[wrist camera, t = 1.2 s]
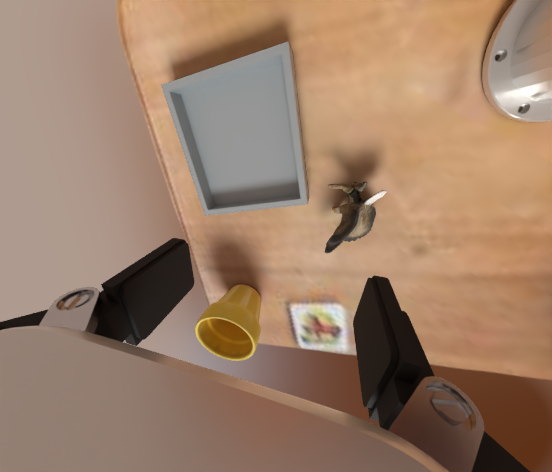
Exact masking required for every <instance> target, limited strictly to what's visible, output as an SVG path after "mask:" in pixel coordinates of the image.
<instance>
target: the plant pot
mask: <svg viewBox="0 0 552 472" xmlns="http://www.w3.org/2000/svg"><path fill="white" fill-rule="evenodd" d="M260 307H261V298H260V295H259V294H258V292H257V291H256V290H255V289H253V288H252V287H250V286H247V285H242V284H240V285H236V286H234V287H232V288H231V289H230V290H229V291H228V292H227V293H226V294H225V295H224V296H223V297H222V298H221V299H220V300H219V301H218V302H216V303H213V304H212V305H210V306H209V307H208V308H207V309H206V310H205V312H204V313H203V314H202V316H201V317H200V319H199V320H198V322H197V324H196V327H195V332H196V336H197V338H198V340H199V341H200V342H201V344H202V345H203V346H204V347H205V348H206V349H208V350H209V351H210V352H212V353H213V354H215V355H217V356H219V357H222V358H225V359H229V360H244V359H247V358H249V357H251V356H252V355H253V353H254V352H255V349H256V346H257V343H258V340H259V336H260V332H261V329H260V324H259V316H260Z"/></svg>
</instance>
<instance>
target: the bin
mask: <svg viewBox="0 0 552 472" xmlns="http://www.w3.org/2000/svg"><path fill="white" fill-rule="evenodd" d="M161 86H162V89H163V92H164V95H165V98H166V101H167V104H168V107H169V110H170V113H171V116H172V119H173V122H174V125H175V128H176V131H177V134H178V137H179V140H180V143H181V146H182V149H183V152H184V155H185V158H186V161H187V163H188V166H189V169H190V172H191V175H192V178H193V181H194V184H195V187H196V190H197V193H198V196H199V199H200V202H201V205H202V208H203V211H204V214H205V216H206V215H215V214H224V213H233V212H242V211H251V210H260V209H269V208H278V207H287V206H296V205H305V204H308V201H309V192H308V183H307V174H306V166H305V157H304V148H303V139H302V130H301V122H300V113H299V104H298V95H297V86H296V78H295V69H294V60H293V52H292V50H291V47H290V45H289V42H285V43H282V44H279V45H276V46H273V47H270V48H267V49H264V50H261V51H259V52H256V53H253V54H250V55H247V56H244V57H241V58H238V59H235V60H232V61H230V62H227V63H224V64H221V65H218V66H215V67H212V68H209V69H206V70H203V71H200V72H198V73H195V74H192V75H189V76H186V77H183V78H180V79H177V80H174V81H171V82H169V83H166V84H163V85H161Z"/></svg>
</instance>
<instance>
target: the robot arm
mask: <svg viewBox="0 0 552 472" xmlns="http://www.w3.org/2000/svg"><path fill="white" fill-rule="evenodd" d="M495 56H496V57H497V59H496V60H495ZM482 82H483V88H484V93H485V95H486V97H487V99H488V101H489V103H490V104H491V106H492V107H493V108H494V109H495V110H496V111H497V112H498V113H500V114H502V115H503V116H505V117H506V118H510V119H513V120H516V121H522V122H546V121H552V0H514V1H513V2H512V4H511V5H510V6H509V8H508V9H507V10H506V12H505V13H504V14H503V16H502V18H501V20H500V21H499V23H498V25H497V27H496V29H495V30H494V32H493V34H492V37H491V39H490V42H489V44H488V47H487V49H486V53H485V58H484V62H483V70H482ZM518 109H519V110H518ZM101 285H102V287H103V289H104V290H103V291H102V292H99V290H98V289H97V288H94V287H86V288H79V289H76V290H73V291H71V292H68V293H66V294H64V295H62V296H61V297H59V298H58V299H57V300H55V301H54V303H53V304H52V305H51V307H50V308H49V309H48V310H45V311H41V312H37V313H33V314H30V315H26V316H22V317H18V318H14V319H11V320H7V321H3V322H0V472H530V471H528V469H526V468H525V467H524V466H523V465H522V464H521V463H520V462H518V461H517V460H516V459H515V458H514V457H513V456H512V455H510V454H509V453H508V452H507V451H506V450H505V449H504V448H503V447H502V446H500V445H499V444H498V443H497V442H496V441H495V440H494V439H492V438H491V437H490V436H489V435H488V434H487V433H486V432H485V431H484V423H483V420H482V417H481V414H480V413H479V411H478V410H477V408H476V406H475V405H474V403H473V402H472V401H471V400H470V399H469V398H468V396H467V395H466V394H465V393H463V392H462V391H461V390H460V389H459V388H458V387H456V386H455V385H453V384H452V383H450V382H449V381H446V380H444V379H442V378H439V377H435V376H434V374H433V372H432V369H431V367H430V365H429V362H428V360H427V358H426V356H425V353H424V351H423V349H422V346H421V344H420V342H419V340H418V337H417V335H416V333H415V330H414V328H413V326H412V324H411V321H410V319H409V317H408V315H407V313H406V312H404V311H401V308H400V306H399V303H398V301H397V299H396V296H395V294H394V291H393V289H392V286H391V284H390V282H389V279H388V278H385V277H379V276H373V277H372V278H368V280H367V282H366V285H365V288H364V291H363V294H362V297H361V300H360V302H359V305H358V308H357V311H356V314H355V317H354V321H353V327H354V335H355V343H356V351H357V359H358V367H359V375H360V383H361V392H362V399H363V404H364V406H365V407H367V408H368V410H369V416H370V417H369V418H370V419H372V420H376V421H379V423H380V427H379V426H377V425H375V424H372V423H370V422H367V421H365V420H362V419H359V418H356V417H354V416H352V415H349V414H346V413H343V412H340V411H337V410H334V409H332V408H329V407H326V406H323V405H319V404H317V403H314V402H311V401H308V400H305V399H302V398H299V397H296V396H292V395H289V394H286V393H283V392H280V391H277V390H274V389H271V388H267V387H264V386H261V385H258V384H255V383H252V382H249V381H245V380H242V379H239V378H236V377H233V376H230V375H226V374H223V373H220V372H217V371H214V370H211V369H207V368H204V367H201V366H198V365H194V364H191V363H188V362H185V361H182V360H179V359H175V358H172V357H169V356H166V355H163V354H159V353H156V352H152V351H149V350H146V349H143V348H140V347H136V346H137V345H138V344H139V343H140V342H141V341H142V340H143V339H145V338H147V337H148V336H149V335H150V334H151V333H152V331H153V330H154V329H155V328H156V327H157V326H158V325H159V324H160V323H161V322H162V320H163V319H164V318H165V317H166V316H167V315H168V314H169V313H170V312H171V311H172V309H173V308H174V307H175V306H176V305H177V304H178V303H179V302H180V301H181V300H182V299H183V297H184V296H185V295H186V294H187V293H188V292H189V291H190V290H191V289H192V287H193V285H194V277H193V271H192V265H191V258H190V252H189V246H188V244H187V243H186V241H185V240H182V239H177V238H173V239H171V240H169V241H168V242H166V243H165V244H163V245H162V246H160V247H159V248H157V249H156V250H154V251H152V252H151V253H149V254H148V255H146V256H145V257H143V258H141V259H140V260H138V261H137V262H135V263H134V264H132V265H131V266H129V267H128V268H126V269H124V270H123V271H121V272H120V273H118V274H117V275H115V276H114V277H112V278H110V279H109V280H107V281H106V282H104V283H103V284H101ZM124 340H126V342H127V343H129V344H127V343H123V341H124ZM130 344H132V345H130ZM133 345H135V346H133Z"/></svg>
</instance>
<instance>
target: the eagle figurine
mask: <svg viewBox="0 0 552 472" xmlns="http://www.w3.org/2000/svg"><path fill="white" fill-rule="evenodd" d="M366 185H367V182H363V183H359V184H357V182H355V183H354V184H330V185H328V186H329V187H330V188H333V189H342V190H343V191H345V192H347V196H348V197H349V203H347V204H344V205H342V206H340V207H338V208H332V209H333V211H334V212H335V213H338V214H342V215H343V216H342V221H341V223H340V225H339V226H338V227H337V229H336V230H335V232H334V234H333V236H331V238H330V239H329V240H328V242H327V244H326V245H327V246H326V248H325V253H330V252H332V251H333V250H334V249H335V248H337V247H338V246H339V245H340V244H341V243H342V242H343V241H348V242H350V241H352V240H353V241H355V240H356V239H357V238H361V237H363V236H365V235H366V234H367V233H369V231H370V230H371V228H372V226H373V222H374V218H375V216H376V211H375V208H374V207H372V206H371V204H372V203H374V202H375V201H376V200H377V199H378V198H381V197H382V196H384V194H385V193H386V192H387V191H386V190H382V191H380V192H378V193H376V194H374V195H373V196H371V197H370V198H369V199H366V200H364V201H363V200H362V198H361V197H360V195H359V192H358V191H363V189H364V188H365V187H366Z"/></svg>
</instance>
